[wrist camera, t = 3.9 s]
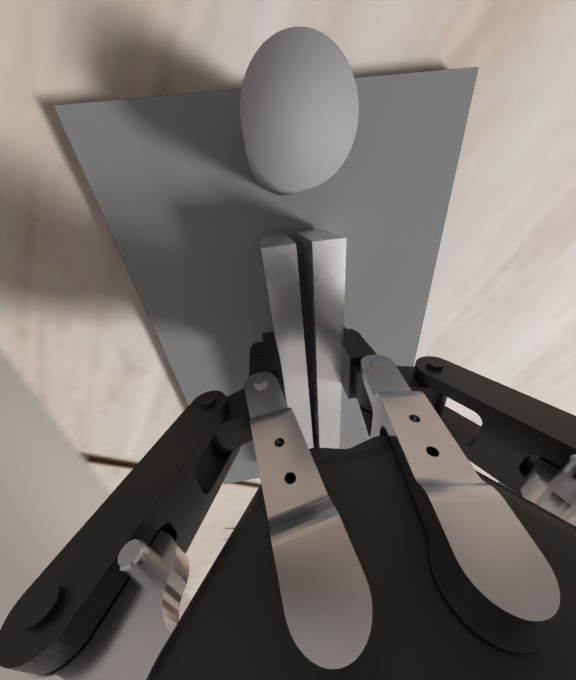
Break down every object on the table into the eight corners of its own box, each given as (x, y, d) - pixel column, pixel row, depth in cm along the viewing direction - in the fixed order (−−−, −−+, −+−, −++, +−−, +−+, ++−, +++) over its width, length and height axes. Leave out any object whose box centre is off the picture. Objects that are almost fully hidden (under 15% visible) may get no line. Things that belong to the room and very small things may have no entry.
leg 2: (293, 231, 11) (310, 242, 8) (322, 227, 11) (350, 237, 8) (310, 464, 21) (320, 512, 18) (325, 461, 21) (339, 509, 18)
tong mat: (72, 115, 9) (-123, 19, 4) (459, 78, 10) (642, -35, 5) (225, 473, 22) (216, 547, 17) (389, 443, 23) (424, 506, 18)
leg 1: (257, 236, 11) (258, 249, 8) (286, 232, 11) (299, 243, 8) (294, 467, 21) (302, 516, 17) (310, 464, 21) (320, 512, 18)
